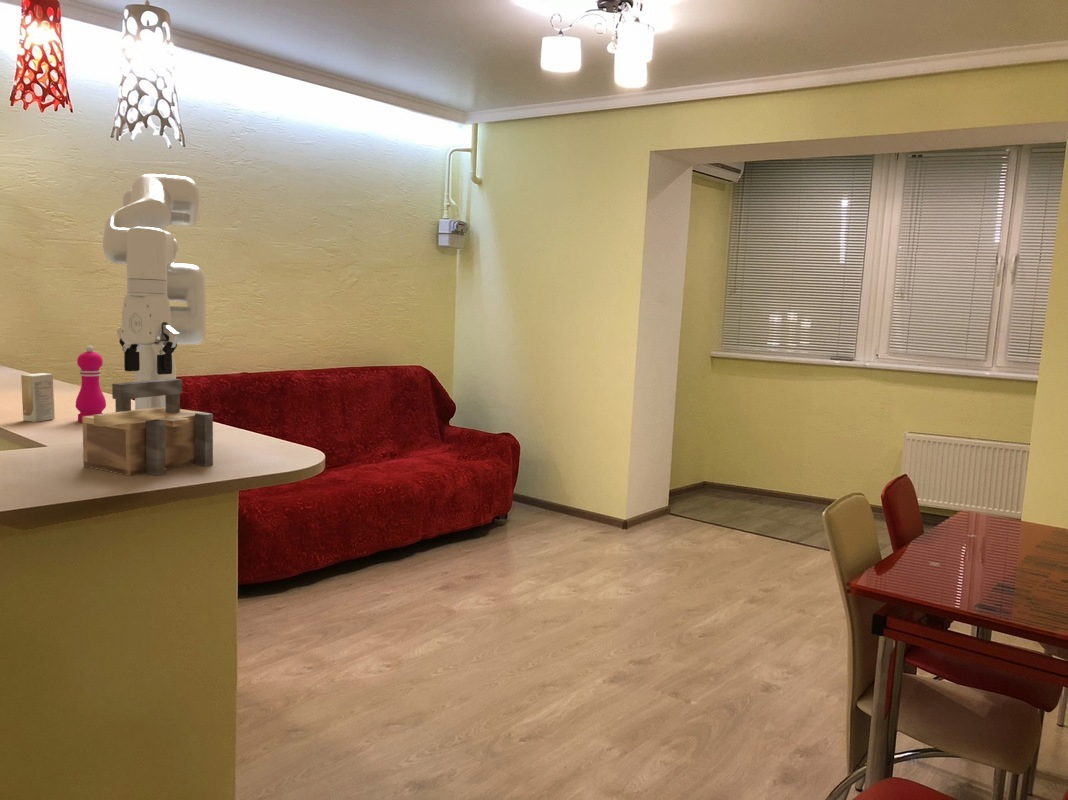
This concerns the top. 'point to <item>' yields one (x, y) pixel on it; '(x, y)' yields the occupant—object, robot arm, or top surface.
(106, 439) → the toolbox
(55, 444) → the top surface
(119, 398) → the toolbox lid
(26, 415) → the skincare box
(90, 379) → the pepper mill
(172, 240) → the robot arm
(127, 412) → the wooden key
